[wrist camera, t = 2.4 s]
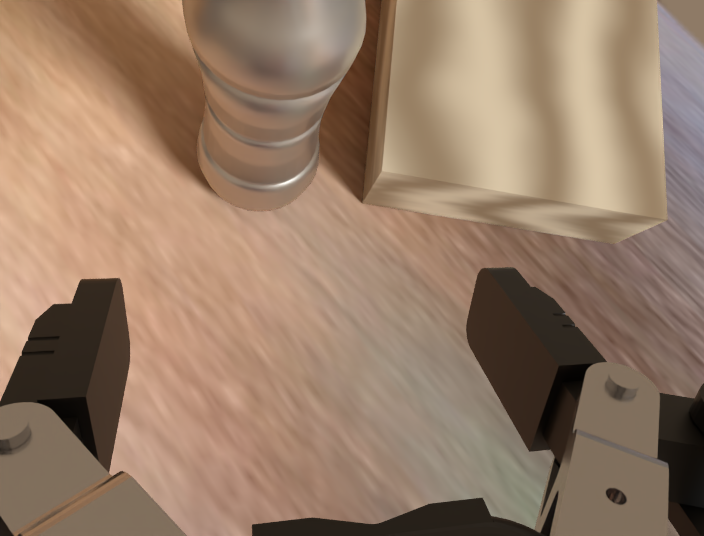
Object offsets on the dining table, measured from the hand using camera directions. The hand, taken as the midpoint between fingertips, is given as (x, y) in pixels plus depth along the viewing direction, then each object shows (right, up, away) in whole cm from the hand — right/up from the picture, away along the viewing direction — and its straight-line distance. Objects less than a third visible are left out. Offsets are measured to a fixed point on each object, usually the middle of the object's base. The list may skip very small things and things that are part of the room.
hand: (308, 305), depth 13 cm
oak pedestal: (+11, +11, +26) cm, 30 cm away
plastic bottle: (-5, +7, +22) cm, 23 cm away
